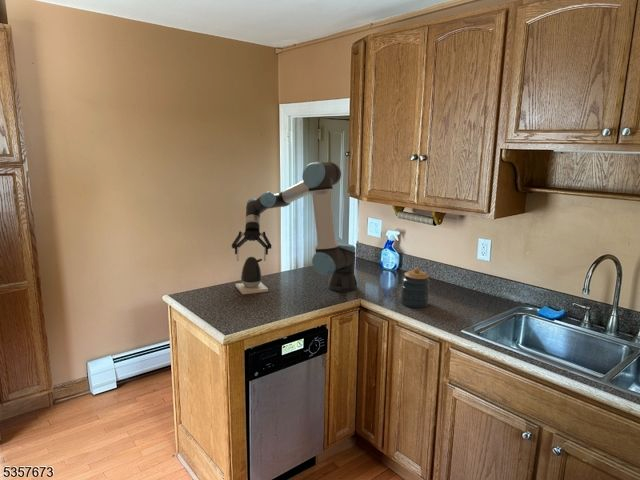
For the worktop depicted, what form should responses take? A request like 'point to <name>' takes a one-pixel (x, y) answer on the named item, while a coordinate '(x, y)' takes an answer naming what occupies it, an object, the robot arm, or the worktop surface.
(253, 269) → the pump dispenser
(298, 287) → the worktop surface
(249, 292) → the tile pad
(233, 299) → the worktop surface
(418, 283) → the canister
